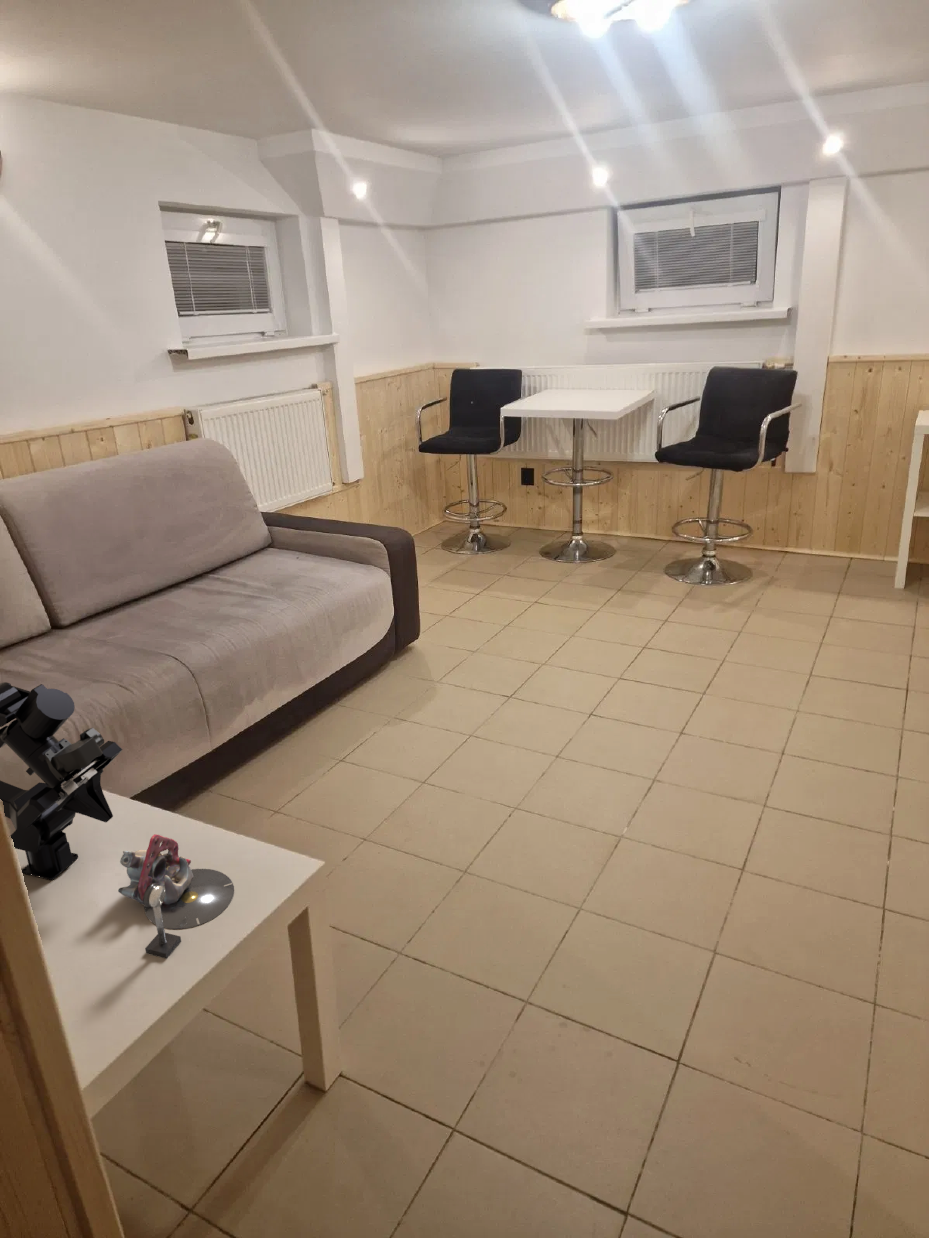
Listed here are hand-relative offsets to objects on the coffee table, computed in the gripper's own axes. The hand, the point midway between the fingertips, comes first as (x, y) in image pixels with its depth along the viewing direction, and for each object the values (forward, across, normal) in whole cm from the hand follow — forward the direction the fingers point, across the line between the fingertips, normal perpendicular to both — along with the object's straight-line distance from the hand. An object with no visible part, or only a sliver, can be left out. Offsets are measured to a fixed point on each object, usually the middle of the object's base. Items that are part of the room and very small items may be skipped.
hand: (109, 819), depth 133 cm
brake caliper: (+14, 0, +4) cm, 15 cm away
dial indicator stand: (+20, -10, -2) cm, 23 cm away
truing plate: (+18, 0, 0) cm, 18 cm away
